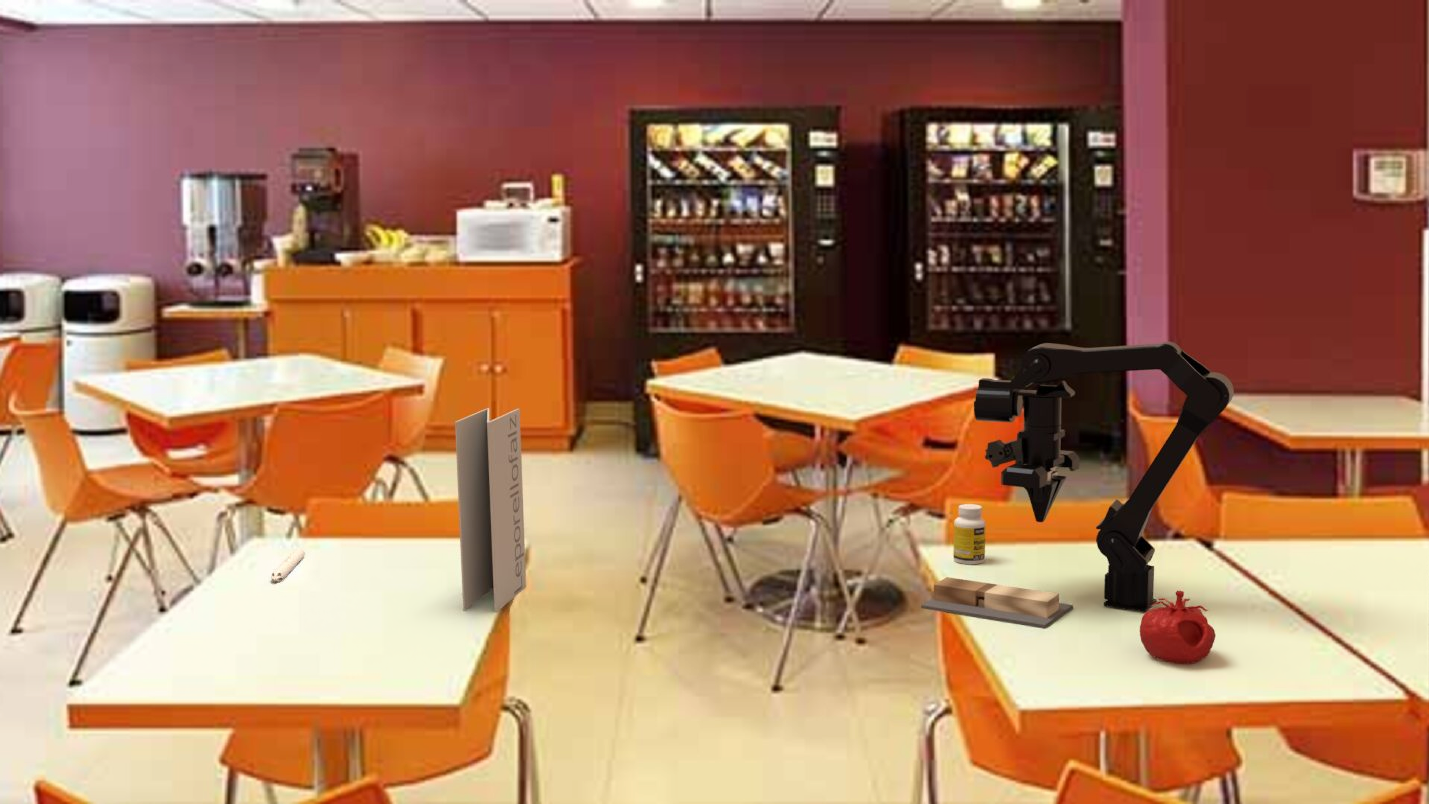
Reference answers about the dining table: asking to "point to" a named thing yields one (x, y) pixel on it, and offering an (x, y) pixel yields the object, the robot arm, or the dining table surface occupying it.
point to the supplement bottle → (969, 535)
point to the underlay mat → (997, 613)
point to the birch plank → (1020, 601)
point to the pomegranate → (1177, 632)
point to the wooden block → (960, 591)
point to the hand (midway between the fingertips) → (1040, 521)
